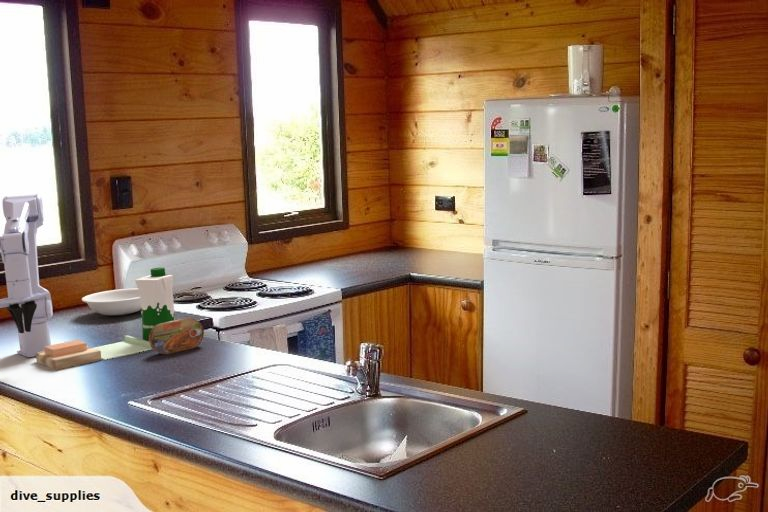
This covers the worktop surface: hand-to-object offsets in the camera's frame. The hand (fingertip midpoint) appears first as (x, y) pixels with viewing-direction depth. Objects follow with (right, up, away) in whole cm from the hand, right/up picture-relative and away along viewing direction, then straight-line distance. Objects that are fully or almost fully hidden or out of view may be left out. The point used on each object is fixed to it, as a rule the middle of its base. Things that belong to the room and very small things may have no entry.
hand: (24, 332), depth 233 cm
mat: (+19, -6, +17) cm, 26 cm away
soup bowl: (+5, 0, +70) cm, 70 cm away
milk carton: (+28, -4, +28) cm, 40 cm away
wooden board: (+9, -8, +8) cm, 14 cm away
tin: (+36, -6, +12) cm, 39 cm away
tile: (+8, -6, +7) cm, 12 cm away
